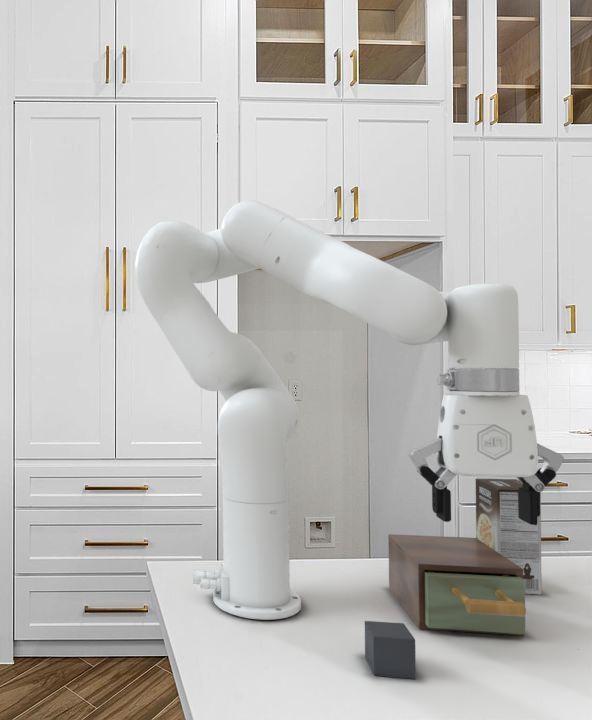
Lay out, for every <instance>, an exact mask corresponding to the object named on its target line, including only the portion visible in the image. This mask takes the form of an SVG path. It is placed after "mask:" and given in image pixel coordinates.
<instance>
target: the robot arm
mask: <svg viewBox="0 0 592 720" xmlns="http://www.w3.org/2000/svg"><path fill="white" fill-rule="evenodd" d="M221 222H222V223H221V227H220V228H217V229H213V230H210V231H207V232H206V231H205V232H203V231H201V230H200V229H198V228H197V227H195V226H193V225H191V224H189V223H187V222H184V221H179V220H163V221H160V222H159V223H157V224H154V225H153V226H152V227H151V228H150V229H148V231H147V232H146V233H145V234H144V236H143V238H142V239H141V241H140V243H139V246H138V249H137V252H136V258H135V265H134V266H135V267H134V271H135V281H136V286H137V289H138V291H139V295H140V296H141V298H142V300H143V303H144V304H145V306H146V308H147V309H148V311H149V312H150V314H151V316H152V317H153V319H154V320H155V322H156V323H157V325H158V326H159V328H160V330H161V331H162V333H163V335H164V336H165V338H166V340H167V341H168V343H169V344H170V347H172V349H173V351H174V352H175V354H176V355H177V357H178V359H179V360H180V362H181V363H182V365H183V366H184V368H185V370H186V372H187V374H189V376H190V378H191V380H192V381H193V382H194V383H195V384H196V386H198V387H199V388H201V389H203V390H205V391H209V392H219V393H220V394H221V396H222V398H224V400H225V403H224V404H223V405H222V407H221V409H220V412H219V414H218V419H217V437H218V446H219V453H220V460H221V479H222V480H221V482H222V485H221V487H222V488H221V489H222V490H221V491H222V555H223V556H222V560H223V561H222V563H223V564H221V565H220V569H214V572H212V571H205V570H193V573H192V575H193V576H192V577H193V578H192V582H193V585H200V589H201V590H202V589H203V590H211V589H212V590H213V593H212V600H213V603H214V605H215V606H216V607H217V608H219V609H220V610H222V611H223V612H225V613H228V614H230V615H233V616H235V617H241V618H245V619H252V620H259V621H264V620H265V621H270V620H271V621H273V620H281V619H282V620H283V619H288V618H289V617H293V616H295V615H297V614H298V613H299V612H300V611H301V610H302V598H301V596H300V595H299V594H298V593H297V592H295V591H294V590H293V589H290V588H291V586H290V585H291V581H290V576H291V575H290V571H291V570H290V569H291V568H290V498H289V496H290V494H289V491H290V490H289V489H290V488H289V485H290V484H289V469H288V459H287V450H286V443H287V442H289V441H290V440H291V439H292V438H293V437H294V435H295V434H296V433H297V431H298V429H299V425H300V420H301V419H300V417H301V416H300V410H299V406H298V404H297V402H296V400H295V399H294V397H293V395H292V394H291V392H290V391H289V389H288V388H287V387H286V385H285V384H284V383H283V381H282V379H281V378H280V377H279V375H278V373H276V370H275V369H274V368H273V367H272V365H271V364H270V362H269V361H268V360H267V358H266V357H265V355H264V354H263V352H262V351H261V349H260V348H259V347H258V346H257V345H256V344H255V343H254V342H253V341H252V340H251V339H250V338H248V337H246V336H245V335H243V334H240V333H236V332H232V331H230V330H229V328H227V326H226V325H225V324H224V323H223V321H222V320H221V319H220V317H219V315H217V313H216V312H215V310H214V309H213V307H212V306H211V304H210V302H209V301H208V300H207V298H206V296H204V294H203V293H202V292H201V291H200V290H199V289H198V287H197V286H196V285H195V284H205V283H210V282H214V281H218V280H222V279H225V278H226V279H227V278H230V277H233V276H234V277H235V276H238V275H241V274H245V273H248V272H252V271H255V270H259V269H260V270H262V271H264V272H265V273H268V274H269V275H271V276H273V277H275V278H276V279H278V280H280V281H282V282H284V283H285V284H287V285H289V286H291V287H293V288H294V289H296V290H298V291H300V292H302V293H304V294H305V295H306V296H307V295H308V296H309V297H312V298H315V299H319V300H321V301H322V300H323V301H325V302H327V303H329V304H331V305H333V306H335V307H337V308H339V309H341V310H343V311H344V312H346V313H348V314H350V315H352V316H354V317H356V318H358V320H361V321H363V322H364V323H366V324H368V325H370V326H372V327H373V328H376V329H377V330H379V331H381V332H382V333H384V334H386V335H388V336H390V337H391V338H393V339H394V340H396V341H398V342H399V343H402V344H405V345H408V346H422V345H430V344H435V343H444V342H447V345H448V347H447V348H448V368H447V369H446V372H445V373H443V374H441V373H439V374H437V376H436V383H437V385H439V386H444V387H446V389H447V391H448V393H443V396H442V401H441V405H440V411H439V416H438V423H437V434H436V439H433V440H431V441H428V442H427V443H425V444H423V445H421V446H419V447H416V448H414V449H412V450H410V451H409V452H408V457H409V458H410V461H411V462H412V464H413V466H414V467H415V469H416V472H417V473H418V474H419V475H420V476H421V477H422V478H423V479H424V480H425V481H427V482H428V484H429V485H430V486H431V507H432V508H431V509H432V511H433V513H434V514H435V516H436V517H437V518H438V519H439V520H441V521H443V522H444V523H449V522H451V521H452V491H451V490H450V489H449V488H448V485H449V484H450V483H451V482H452V481H453V479H454V478H455V477H456V476H457V475H458V476H461V477H482V478H484V477H486V478H487V477H488V478H515V479H516V480H518V481H520V482H521V483H522V487H519V489H518V517H519V519H521V520H523V521H525V522H527V523H529V524H531V525H537V517H539V516H540V492H541V493H542V492H544V491H545V490H546V486H547V485H549V484H550V483H551V482H552V481H553V480H555V478H556V477H557V472H558V471H559V470H560V468H561V466H562V464H563V462H564V460H565V457H564V455H562V454H561V453H558V452H556V451H555V450H552V449H550V448H549V447H547V446H544V445H542V444H540V443H538V442H537V432H536V425H535V420H534V415H533V411H532V407H531V402H530V399H529V396H528V394H520V392H521V391H520V339H519V338H520V335H519V332H520V331H519V330H520V329H519V325H520V324H519V295H518V294H519V293H518V291H517V289H516V288H515V287H514V286H512V285H510V284H508V283H507V284H506V283H501V282H500V283H498V282H492V283H491V282H487V283H475V284H474V283H473V284H467V285H462V286H461V285H460V286H458V287H456V288H454V289H452V290H451V291H438V289H437V288H436V287H434V286H432V285H431V284H429V283H427V282H425V281H424V280H422V279H420V278H418V277H416V276H414V275H412V274H410V273H408V272H406V271H403V270H402V269H400V268H398V267H396V266H394V265H392V264H389V263H388V262H385V261H383V260H381V259H379V258H377V257H375V256H373V255H371V254H368V253H367V252H364V251H362V250H359V249H357V248H355V247H353V246H351V245H350V244H348V243H346V242H344V241H342V240H340V239H337V238H336V237H333V236H331V235H329V234H327V233H325V232H323V231H321V230H319V229H317V228H315V227H313V226H311V225H309V224H307V223H304V222H303V221H301V220H299V219H296V217H295V218H294V217H293V216H291V215H289V214H287V213H285V212H283V211H280V210H278V209H277V208H274V206H271V205H269V204H266V203H264V202H261V201H258V200H249V199H247V200H243V201H239V202H238V203H236V204H234V205H233V206H231V207H230V208H229V209H228V211H227V212H226V213H225V215H224V217H223V218H222V221H221ZM434 454H436V463H437V466H438V467H437V468H436V469H435V470H434V471H433V469H432V468H430V467H429V464H428V463H427V461H426V460H427V458H428V457H430V456H433V455H434ZM539 457H540V458H541V459H543V463H542V466H541V467H540V468H539Z"/></svg>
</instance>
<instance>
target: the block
mask: <svg viewBox="0 0 592 720" xmlns="http://www.w3.org/2000/svg"><path fill="white" fill-rule="evenodd" d="M416 651H417V650H416V638H415V637H414V635H412V633H411V632H410V630H409V629H408V627H407V626H406V624H405V623H403V622H389V621H388V622H387V621H374V620H373V621H372V620H364V658H365V660H366V662H367V664H368V666H369V668H370V671H371V673H372V674H373V676H375V677H387V678H398V679H408V680H409V679H410V680H416V678H417V663H416V662H417V661H416V660H417V659H416V656H417V655H416Z"/></svg>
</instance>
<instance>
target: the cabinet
mask: <svg viewBox="0 0 592 720" xmlns="http://www.w3.org/2000/svg"><path fill="white" fill-rule="evenodd" d="M387 536H388V590H389V591H390V593H391V594H392V595H393V597H394V598H395V599H396V600H397V602H398V603H399V604H400V605H401V607H402V608H403V610H404V611H405V612H406V613H407V615H408V616H409V617H410V619H411V620H412V622H413V623H414V624H415V625H416V627H417V628H418V629H419V630H431V631H446V632H459V633H460V632H462V633H474V634H475V633H477V634H491V635H504V636H505V635H507V636H519V637H520V636H521V637H522V636H523V637H524V636H525V634H515V633H500V632H485V631H470V630H455V629H439V628H428V627H427V625H426V624H425V570H434V571H454V572H474V573H494V574H509V577H520V578H522V579H523V569H522V568H521V567H519V566H518V565H516V564H515V563H513V562H512V561H510V560H509V559H507V558H506V557H504V556H503V555H501V554H500V553H498V552H497V551H495V550H494V549H492V548H491V547H489V546H488V545H486V544H484V543H483V542H481V541H480V540H478V539H477V538H476V537H463V536H442V535H441V536H440V535H439V536H438V535H419V534H418V535H416V534H392V533H391V534H388V535H387Z"/></svg>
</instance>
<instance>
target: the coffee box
mask: <svg viewBox="0 0 592 720" xmlns="http://www.w3.org/2000/svg"><path fill="white" fill-rule="evenodd" d="M519 487H522V483H521V482H520V481H519V480H518V479H517V478H475V536H476V537H475V538H477V539H478V540H480V541H481V542H483V543H484V544H486V545H488V546H489V547H491V548H492V549H494V550H495V551H497V552H498V553H500V554H501V555H503V556H504V557H506V558H507V559H509V560H510V561H512V562H513V563H515V564H516V565H518V566H519V567H521V568H522V569H523V580H525V595H540V596H541V595H542V594H543V593H542V591H543V590H542V588H543V587H542V585H543V583H542V492H540V516H539V517H537V525H531V524H529V523H527V522H525V521H523V520H521V519H519V517H518V489H519Z"/></svg>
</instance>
